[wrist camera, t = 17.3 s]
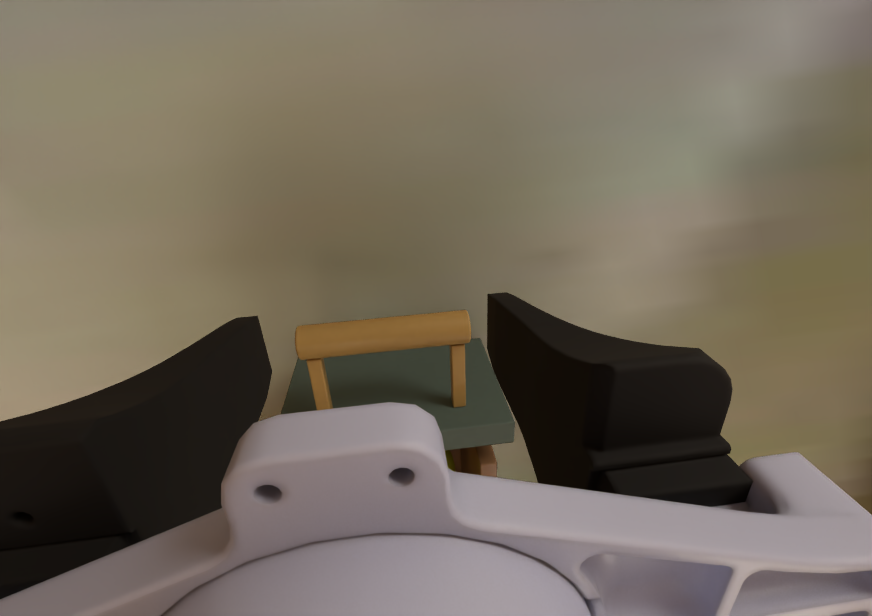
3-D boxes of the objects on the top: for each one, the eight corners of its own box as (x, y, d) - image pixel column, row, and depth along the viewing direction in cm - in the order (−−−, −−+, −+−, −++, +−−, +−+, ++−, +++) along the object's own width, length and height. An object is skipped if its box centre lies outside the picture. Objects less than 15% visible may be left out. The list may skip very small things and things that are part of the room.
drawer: (280, 278, 22) (240, 354, 16) (480, 261, 23) (519, 326, 17) (332, 509, 30) (319, 624, 23) (480, 489, 31) (507, 595, 24)
